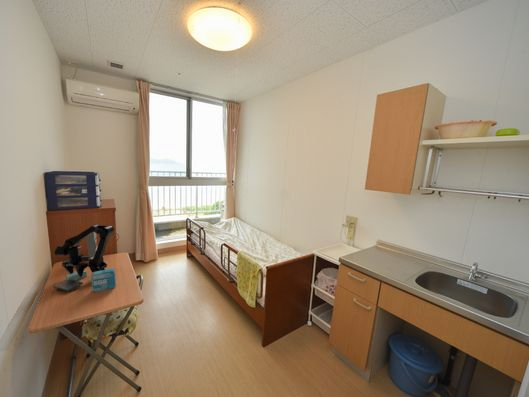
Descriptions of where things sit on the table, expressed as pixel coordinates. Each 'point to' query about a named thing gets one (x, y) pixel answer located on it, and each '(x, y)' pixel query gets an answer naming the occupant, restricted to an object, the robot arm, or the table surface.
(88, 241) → the cassette tape recorder
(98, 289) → the data package
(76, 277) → the housing
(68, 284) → the stand
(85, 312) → the table surface
